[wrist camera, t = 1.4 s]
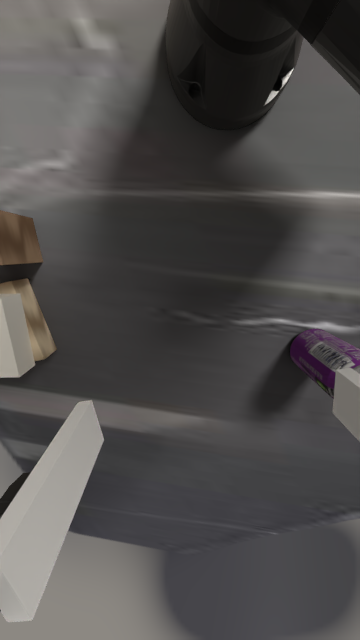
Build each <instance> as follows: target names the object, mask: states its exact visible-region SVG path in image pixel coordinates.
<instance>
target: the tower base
mask: <svg viewBox="0 0 360 640" xmlns="http://www.w3.org/2000/svg"><path fill="white" fill-rule="evenodd" d="M16 293H20V295H21V300H22V304H23V309H24V314H25V319H26V323H27V328H28V333H29V338H30V342H31V347H32V352H33V357H34V361H38V360H43V359H46V358H47V357H48V356H49V355H51V354H52V353H53V352H54V351H56V350H57V348H56V346H55V344H54V341H53V339H52V336H51V334H50V331H49V329H48V326H47V324H46V322H45V319H44V317H43V314H42V312H41V309H40V307H39V304H38V302H37V300H36V297H35V295H34V292H33V290H32V287H31V285H30V283H29V280H28V278H27V279H21V280H15V281H9V282H5V283H0V294H16Z"/></svg>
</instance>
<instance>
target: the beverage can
mask: <svg viewBox="0 0 360 640" xmlns="http://www.w3.org/2000/svg"><path fill="white" fill-rule="evenodd" d="M290 356H291V359H292V361H293V362H294V363H295V364H296V365H297V366H298V367H299V368H300V369H301V370H302V371H304V372H305V373H306V374H307V375H308V376H309V377H310V378H311V379H312V380H313V381H314V382H315V383H317V384H318V385H319V386H320V387H321V388H322V389H323V390H324V391H325V392H326V393H327V394H329V395H330V396H331V397H332V398H333V399H334V388H335V375H336V370H338V369H346V368H352V369H353V370H355V371H356V372H358V373H359V374H360V349H358V348H356V347H354V346H352V345H350V344H349V343H347V342H345V341H343V340H341V339H339V338H337V337H335V336H333V335H331V334H329V333H327V332H326V331H324V330H321V329H310V330H306V331H304V332H302V333H301V334H299V335H298V336H297V337H296V338H295V339H294V341H293V342H292V345H291V348H290Z"/></svg>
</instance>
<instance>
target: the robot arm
mask: <svg viewBox="0 0 360 640" xmlns="http://www.w3.org/2000/svg"><path fill="white" fill-rule="evenodd" d="M337 3H338V4H337ZM335 6H336V7H335ZM332 11H333V12H332ZM325 22H326V23H325ZM303 37H304V38H305V39H306V40H307V41H308V42H309V43H310V45H311V44H312V45H311V46H312V47H313V48H314V49H315V50H316V51H317V52H318V53H319V54H320V55H321V56H322V57H323V58H324V59H325V60H326V61H327V62H328V63H329V64H330V65H331V66H332V67H333V68H334V69H335V70H336V71H337V72H338V73H339V74H340V75H341V76H342V77H343V78H344V79H345V80H346V81H347V82H348V83H349V84H350V85H351V86H352V87H353V88H354V89H355V90H356V91H357V92H358V94H359V95H360V0H340V1H339V0H171V1H170V5H169V10H168V15H167V23H166V56H167V66H168V72H169V76H170V80H171V83H172V86H173V89H174V91H175V93H176V95H177V97H178V99H179V101H180V102H181V104H182V105H183V106H184V108H185V109H186V110H187V111H188V112H189V113H190V114H191V115H192V116H193V117H194V118H195V119H197V120H198V121H199V122H201V123H203V124H205V125H207V126H209V127H212V128H216V129H222V130H232V129H238V128H241V127H244V126H247V125H249V124H251V123H253V122H255V121H256V120H258V119H259V118H260V117H262V116H263V115H264V114H265V113H266V112H267V111H268V110H269V109H270V108H271V107H272V106H273V104H274V103H275V102H276V100H277V99H278V97H279V96H280V94H281V93H282V91H283V90H284V88H285V86H286V85H287V83H288V81H289V79H290V77H291V75H292V73H293V71H294V68H295V66H296V63H297V60H298V57H299V53H300V49H301V45H302V41H303ZM333 414H334V415H335V416H336V417H337V418H338V419H339V420H340V421H341V422H342V423H343V425H344V426H345V427H346V428H347V429H348V430H349V431H350V432H351V433H352V434H353V435H354V436H355V437H356V438H357V439H358V440H359V441H360V374H359V373H358V372H356V371H355V370H353V369H352V368H346V369H338V370H336V375H335V388H334V401H333ZM103 441H104V438H103V435H102V432H101V428H100V425H99V422H98V419H97V415H96V412H95V409H94V406H93V403H92V400H89V401H81V402H78V403H77V404H76V406H75V407H74V409H73V410H72V412H71V413H70V415H69V416H68V418H67V419H66V421H65V422H64V424H63V425H62V427H61V428H60V430H59V431H58V433H57V434H56V436H55V437H54V439H53V440H52V442H51V443H50V445H49V446H48V448H47V449H46V451H45V452H44V454H43V455H42V457H41V458H40V460H39V461H38V463H37V464H36V466H35V467H34V469H33V470H32V472H29V473H23V474H22V475H21V476H20V477H19V478H18V479H17V480H16V481H15V482H14V483H12V484H11V485H10V486H9V488H8V489H7V491H6V492H5V493H4V495H3V496H2V498H1V499H0V612H1V613H2V615H3V616H4V617H5V619H6V620H7V622H18V621H30V620H32V619H33V617H34V615H35V612H36V610H37V607H38V605H39V602H40V600H41V597H42V595H43V592H44V589H45V587H46V584H47V582H48V580H49V577H50V575H51V572H52V569H53V567H54V564H55V562H56V559H57V557H58V554H59V551H60V549H61V547H62V544H63V542H64V539H65V537H66V534H67V532H68V529H69V527H70V524H71V522H72V519H73V517H74V514H75V512H76V509H77V506H78V504H79V501H80V499H81V496H82V494H83V491H84V489H85V486H86V484H87V481H88V479H89V476H90V474H91V471H92V469H93V466H94V464H95V461H96V459H97V456H98V454H99V451H100V449H101V446H102V443H103Z"/></svg>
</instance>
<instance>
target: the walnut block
mask: <svg viewBox="0 0 360 640" xmlns="http://www.w3.org/2000/svg"><path fill="white" fill-rule="evenodd" d="M39 262H43V260H42V255H41V251H40V247H39V243H38V239H37V235H36V231H35V226H34V222H33V218H29V217H25V216H21V215H17V214H13V213H9V212H5V211H1V210H0V265H13V264H26V263H39Z"/></svg>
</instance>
